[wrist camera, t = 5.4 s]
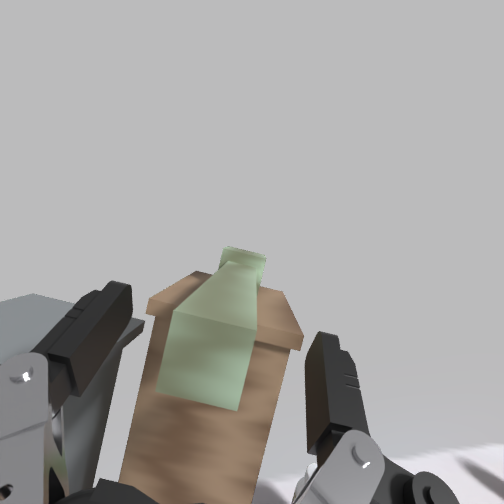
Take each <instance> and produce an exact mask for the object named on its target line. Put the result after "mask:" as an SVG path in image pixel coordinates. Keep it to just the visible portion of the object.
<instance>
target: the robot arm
mask: <svg viewBox="0 0 504 504" xmlns="http://www.w3.org/2000/svg"><path fill="white" fill-rule="evenodd" d="M132 312H133V304H132V288H131V285H128V284H125V283H120V282H116V281H110V282H109V283H108V284H107V285H106V286H105V287H104V289H103V290H102V291H98V290H94V291H92V292H90V293H88V294H86V295H85V296H83V297H81V299H80V300H79V301H78V302H77V303H76V304H75V305H74V306H73V308H72V309H70V310H69V311H68V312H67V313H66V314H65V317H63V318H62V319H61V320H60V321H59V322H58V323H57V324H56V325H55V326H54V327H53V328H52V329H51V330H50V331H49V332H48V334H47V335H46V336H45V337H44V338H43V339H42V340H41V341H40V342H39V343H38V344H37V345H36V346H35V347H34V348H33V349H32V350H31V351H30V352H29V353H23V354H19V355H16V356H14V357H12V358H10V359H8V360H7V361H5V362H4V363H3V364H0V504H159V503H158V502H156V501H155V500H153V499H152V498H150V497H149V496H147V495H146V494H144V493H143V492H141V491H140V490H138V489H137V488H135V487H134V486H131V485H126V484H122V483H118V482H114V481H109V480H105V479H102V478H100V479H99V481H98V484H97V486H96V488H89V489H85V490H81V491H78V492H76V493H73V494H71V495H69V481H68V473H67V468H66V462H65V444H64V421H63V404H64V402H65V401H66V399H67V398H68V396H69V395H73V396H77V397H81V395H82V394H83V392H84V391H85V389H86V388H87V386H88V385H89V383H90V382H91V380H92V379H93V377H94V376H95V374H96V373H97V371H98V370H99V368H100V367H101V365H102V364H103V362H104V360H105V359H106V357H107V356H108V354H109V353H110V351H111V350H112V348H113V347H114V345H115V344H116V342H117V341H118V339H119V338H120V336H121V335H122V333H123V332H124V330H125V329H126V327H127V326H128V324H129V322H130V320H131V317H132ZM359 388H360V386H359V381H358V379H357V371H356V366H355V363H354V361H353V360H352V358H351V356H350V354H349V353H348V352H347V351H343V350H340V344H339V338H338V336H337V335H333V334H329V333H325V332H320V331H319V332H318V333H317V335H316V337H315V339H314V341H313V343H312V345H311V347H310V349H309V351H308V353H307V356H306V360H305V395H306V427H307V453H308V454H312V455H317V467H316V469H315V470H314V472H313V473H312V475H311V476H310V478H309V479H308V480H307V482H306V483H305V485H304V486H303V488H302V489H301V491H300V492H299V494H298V495H297V497H296V498H295V500H294V501H293V503H292V504H459V502H458V500H457V498H456V496H455V495H454V493H453V492H452V490H451V489H450V488H449V486H448V485H447V484H446V483H445V482H444V481H443V480H441V479H440V478H439V477H437V476H436V475H434V474H432V473H429V472H419V473H417V474H416V475H413V474H412V473H410V472H408V471H407V470H405V469H403V468H402V467H400V466H398V465H397V464H395V463H394V462H392V461H390V460H389V459H388V458H386V457H385V456H384V455H383V454H382V452H381V450H380V448H379V447H378V445H377V444H376V443H375V441H374V440H373V439H372V438H371V436H370V434H369V430H368V425H367V421H366V416H365V411H364V406H363V401H362V396H361V391H360V390H359ZM194 504H205V503H194Z"/></svg>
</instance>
